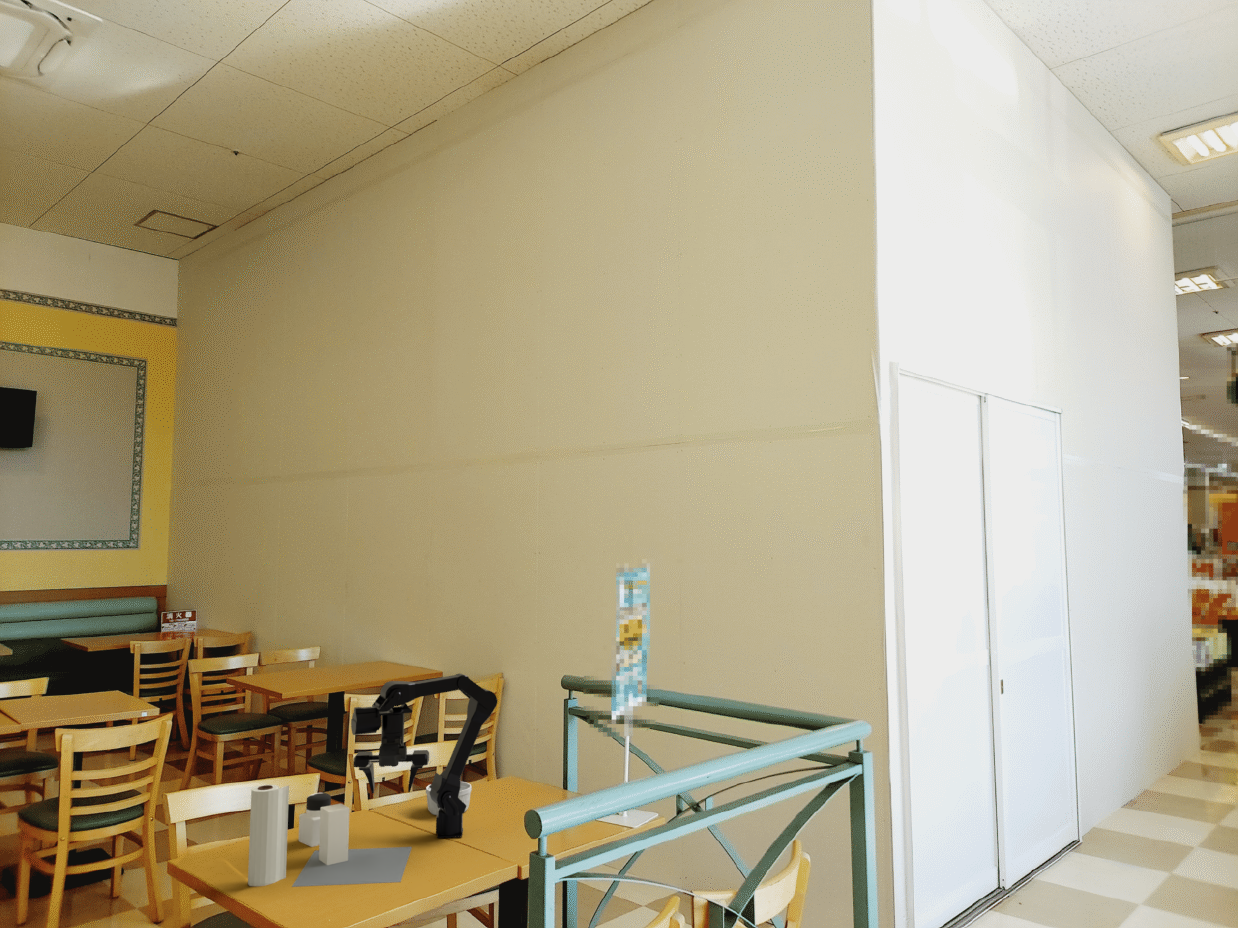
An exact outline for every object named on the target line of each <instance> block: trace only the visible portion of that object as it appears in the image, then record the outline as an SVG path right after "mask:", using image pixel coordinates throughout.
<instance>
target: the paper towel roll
mask: <svg viewBox="0 0 1238 928" xmlns="http://www.w3.org/2000/svg"><path fill="white" fill-rule="evenodd" d="M250 791H251V792H250V793H251V795H250V817H249V820H250V821H249V822H250V823H249V843H248V844H249V847H248V870H247V871H248V872H247V885H248V886H249V887H265V886H268V885H272V884H274V883H277V882H279V881H281V880H283V879H286V878H287V854H288V853H287V851H288V830H289V829H288V828H289V827H288V825H289V824H288V822H289V801H290V800H289V799H290V796H289V795H290V794H289V793H290V785H285V786H282V787H280V785H278V784H277V785H276V784H262V785H261V784H260V785H257V786H254V787H252V788H251V790H250Z"/></svg>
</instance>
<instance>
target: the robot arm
mask: <svg viewBox="0 0 1238 928" xmlns="http://www.w3.org/2000/svg"><path fill="white" fill-rule="evenodd" d="M454 691H460V692H461V694H463V695H464V696H465V697H467V698H468V699H469V700H468V704H467V710H466V719H465V722H464V724H463V727H462V729H461V732H460V734H459V736H458V738H457V741H456V742H455V746H454V748H453V751H452V752H451V756H450V758H449V760H448V762H447V765H446V767H445V769H444V770H443V771H442V772H441V773H440V774H439V773H438V772H435V773H434V776H433V780H432V782H431V783H430V784H431V785H430V784H429V785H430V786H429V787H430V788H431V790H430V796H431V799H432V800H433V801H434V802H435V803H436V804H437V807H438V808H440V809H439V813H438V815H436V818H435V822H436V823H435V834H436V838H437V839H445V838H444V837H446V839H447V838H448V839H450V838H451V837H454V838H463V834H464V833H463V832H464V827H463V825H464V824H463V820H464V818H463V816H464V813H465V812H466V811H465V809H466V805H465V804H464V803H463V802H462V801H461V800H460V799H459V798H458V796H459V792H460V785H461V782H462V775H463V772H464V770H465V767H466V765H467V762H468V761H469V758H470V755H471V753H472V751H473V748H474V747H475V746H474V745H475V742H476V740H477V738H478V736H479V734H480V731H481V729H482V727H483V724H485V722H486V721H487V720H488V719H489V718H490V717H491V715H492V714H493V712H494V711H495V708H496V707H497V705H498V697H497V695H496V693H494V692H493V691H491V690H489V689H486V688H483V687H482V686H480V685H479V684H477V683H476V682H474V681H473V680H472V679H471V678H470V677H469V676H468V675H466V674H463V673H455V674H454V675H453V674H452V675H448V676H442V677H437V678H431V679H424V680H418V681H406V680H405V681H404V680H400V681H399V680H390V681H389V680H388V681H387V682H385V683H384V684H383V686H382V687H381V689H380V692H379V693H380V694H379V695H378V696H377V698H376V700H375V701H374V702H373V704H372V706H366V707H365V706H363V707H361V706H356V707H354V708H353V713H352V718H351V719H350V726H351V728H350V729H351V734H352V735H353V736H356V735H367V734H375V733H377V731H379V730H380V729H381V733H380V734H381V735H380V736H381V737H380V738H381V742H380V745H379V749H378V754H374V753H373V751H358V752H357V753H356V754H355V756H354V758H353V768H358V770H359V771H362V772H363V773H364V775H365V777H366V779H367V782H368V784H369V788H370V791H371V794H374V793H375V787H376V786H375V769H374V768H375V767H374V764H376V763H378V766H379V767H380V768H385V767H397V766H399V764H400V763H408V762H411V766H410V774H409V780H408V785H407V792H408V793H410V792H411V790H412V788H413V787H412V786H413V784H414V780H415V778H416V775H417V773H418V771H419V769H421V770H422V769H423V767H424V766H428V764H429V761H430V751H428V749H423V750H422V749H420V750H419V749H417V750H413V752H412V753H409V754H408V747H407V745H405V744H404V743H405V742H404V741H405V738H404V737H405V714H411V713H413V709H411V708H410V707H409V706H408V704H407V703H410V702H412V701H414V700H415V699H418V698H422V697H426V696H433V695H438V694H439V695H440V694H444V693H449V692H454Z"/></svg>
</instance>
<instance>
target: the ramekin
mask: <svg viewBox="0 0 1238 928" xmlns="http://www.w3.org/2000/svg"><path fill="white" fill-rule="evenodd" d="M431 784H432V783H430V784H428V785H427V786H426V787H425V794H426V802H427V803H426V804H427V810H428V811H429V812H430V814H431V815H434V816H437V815H438V813H439V809H440V808H438V807H437V804H436V803H435V802H434V801H433V800H432V799H431V796H430V790H431V788H430V787H429V786H430V785H431ZM472 788H473V787H472V784H471V783H469V782H466V781H461V785H460V792H459V796H458V798H459V799H460V800H461V801H462V802H463V803H464V804H465V805H466V809H465V812H466V811H467V810H468V809H469V807H470V801H471V793H472Z"/></svg>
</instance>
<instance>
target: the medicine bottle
mask: <svg viewBox="0 0 1238 928" xmlns="http://www.w3.org/2000/svg"><path fill="white" fill-rule="evenodd" d="M331 802H332V796H331V794H329V793H327V792H316V793H312V794H309V795H308V796H307V797H306V808H305V809H306V812H304V813H303V812H302V813H300V814H299V816H298V822H299V823H298V842H300V843H302V844H305V845H307V846H309V847H311V848H314V847H317V846H319V840H320V809H321V807H325V806H330V805H332V803H331Z"/></svg>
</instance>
